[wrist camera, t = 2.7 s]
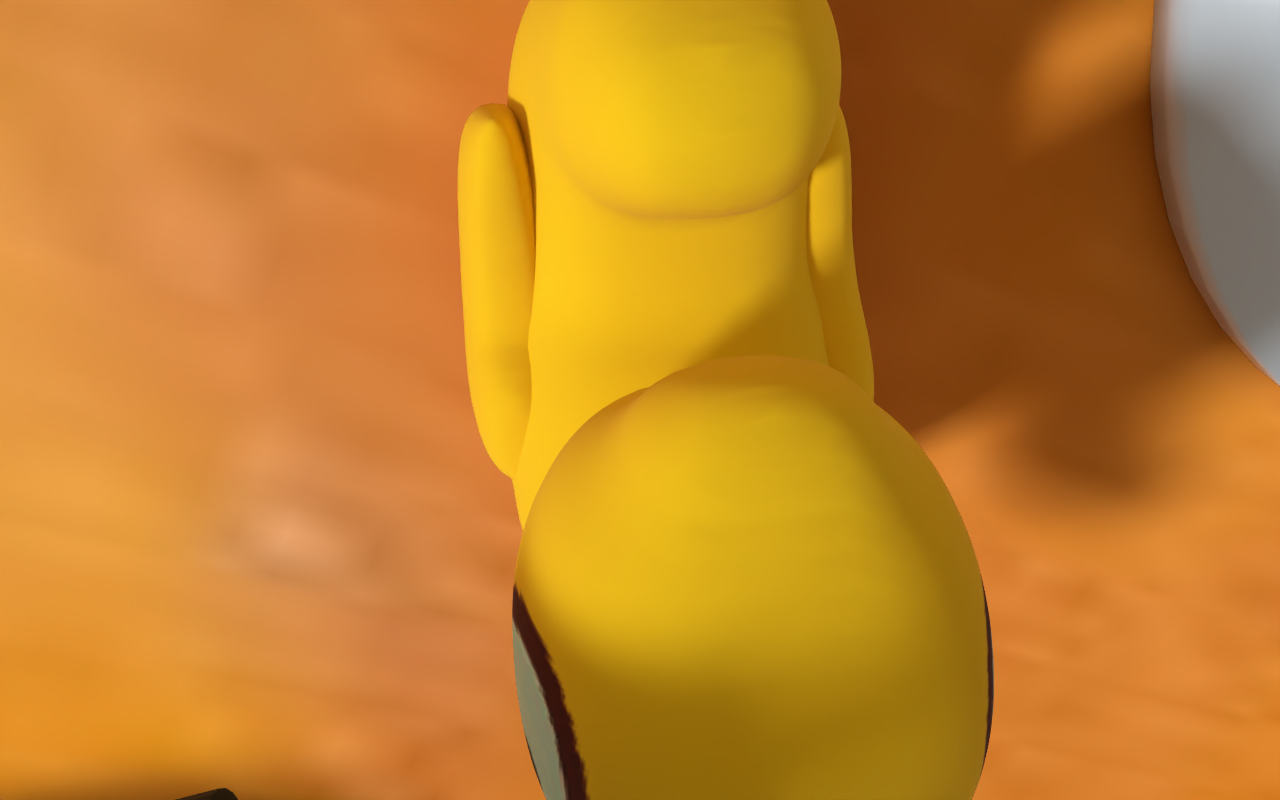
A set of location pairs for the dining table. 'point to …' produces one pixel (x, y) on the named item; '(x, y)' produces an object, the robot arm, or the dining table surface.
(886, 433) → the duckling
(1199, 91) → the plate
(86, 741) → the dining table surface
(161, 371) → the dining table surface
